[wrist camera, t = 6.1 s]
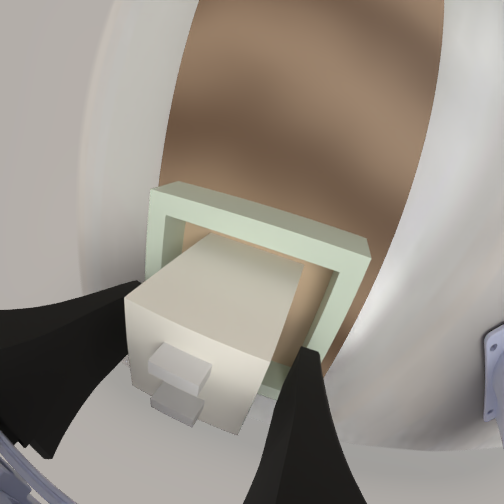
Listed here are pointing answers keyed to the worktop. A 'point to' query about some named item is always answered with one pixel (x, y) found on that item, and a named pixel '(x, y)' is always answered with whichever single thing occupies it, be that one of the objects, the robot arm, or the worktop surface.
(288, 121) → the board
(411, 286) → the worktop surface
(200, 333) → the plug
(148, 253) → the holder
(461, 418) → the worktop surface
